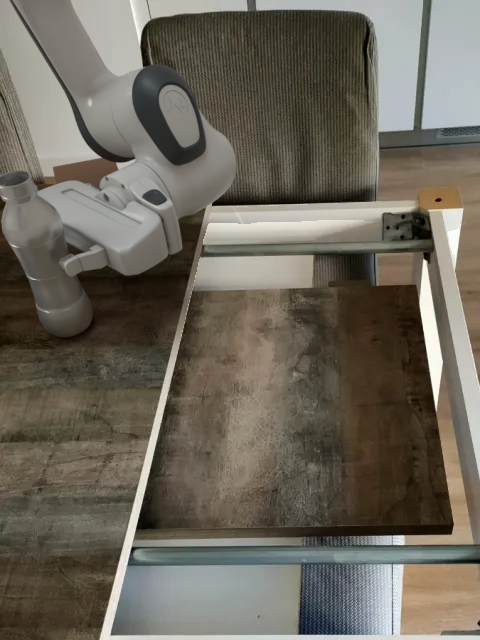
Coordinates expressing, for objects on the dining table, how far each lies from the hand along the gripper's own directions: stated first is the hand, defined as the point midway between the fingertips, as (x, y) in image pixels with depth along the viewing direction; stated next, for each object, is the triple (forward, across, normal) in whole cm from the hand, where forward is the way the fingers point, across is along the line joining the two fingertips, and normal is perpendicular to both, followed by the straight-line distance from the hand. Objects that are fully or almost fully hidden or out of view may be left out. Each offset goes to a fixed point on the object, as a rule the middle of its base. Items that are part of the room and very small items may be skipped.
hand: (39, 254), depth 76 cm
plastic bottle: (0, 0, +11) cm, 11 cm away
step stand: (-18, -17, +11) cm, 27 cm away
